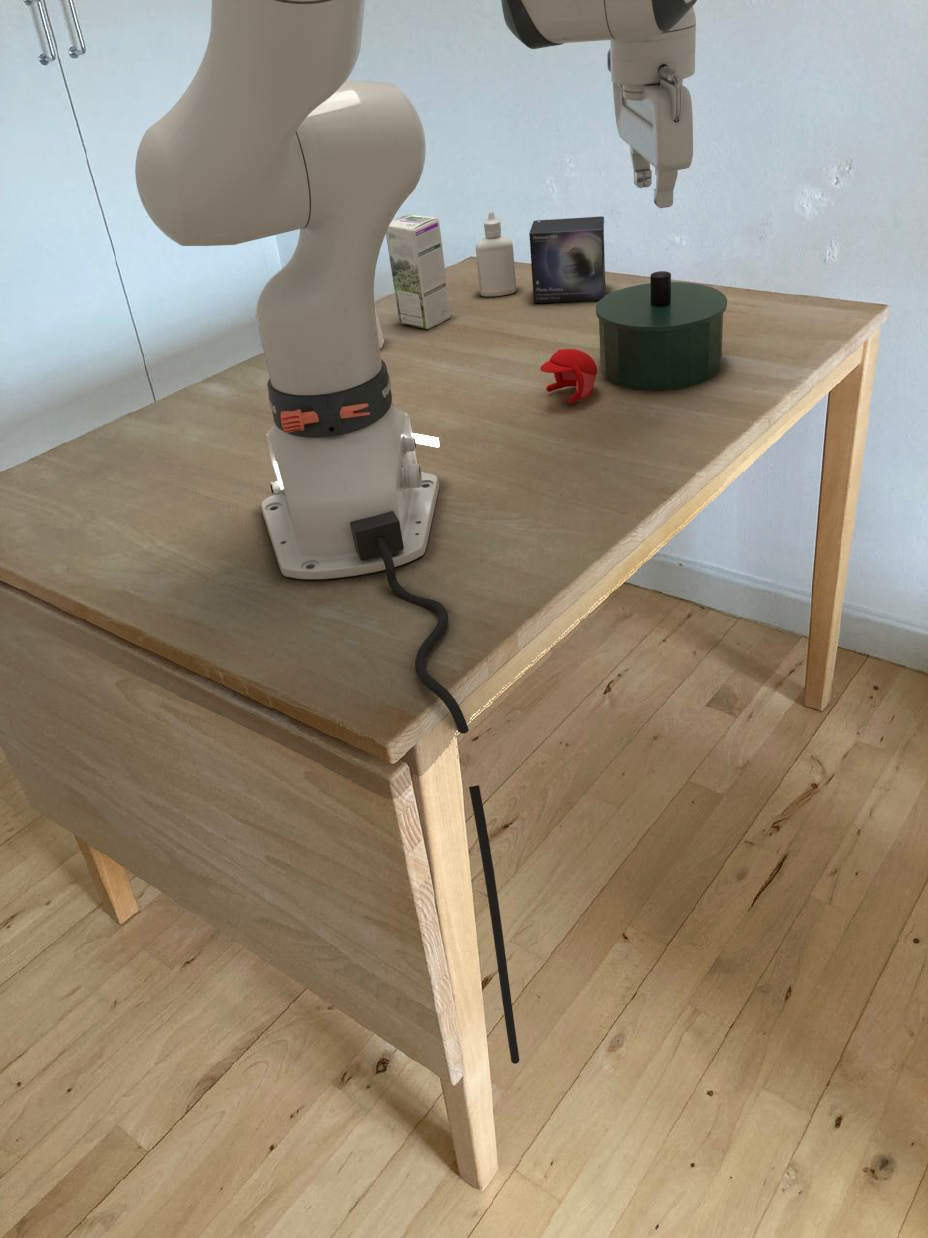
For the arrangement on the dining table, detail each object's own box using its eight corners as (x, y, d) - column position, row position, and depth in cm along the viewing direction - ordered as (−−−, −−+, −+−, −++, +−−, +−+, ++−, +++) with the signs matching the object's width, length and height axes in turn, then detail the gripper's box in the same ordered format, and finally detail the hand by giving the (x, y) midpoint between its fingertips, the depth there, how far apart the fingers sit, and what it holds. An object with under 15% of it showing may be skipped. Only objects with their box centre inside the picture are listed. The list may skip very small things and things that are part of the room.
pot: (736, 380, 124) (739, 319, 119) (616, 397, 123) (615, 337, 119) (700, 338, 136) (702, 281, 131) (590, 354, 135) (588, 297, 131)
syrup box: (452, 317, 152) (440, 215, 144) (426, 330, 149) (412, 227, 141) (424, 311, 156) (411, 211, 147) (397, 325, 152) (382, 223, 144)
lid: (744, 325, 119) (746, 284, 117) (611, 344, 119) (610, 304, 116) (704, 284, 132) (705, 246, 129) (584, 301, 132) (582, 264, 129)
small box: (532, 305, 153) (527, 232, 147) (536, 290, 158) (532, 219, 152) (604, 301, 151) (602, 227, 145) (606, 286, 156) (604, 214, 150)
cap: (564, 380, 129) (561, 334, 126) (607, 387, 126) (605, 339, 123) (531, 406, 124) (528, 358, 120) (575, 413, 121) (573, 364, 117)
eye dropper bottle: (508, 298, 157) (501, 216, 150) (475, 296, 159) (467, 215, 152) (520, 289, 160) (514, 208, 153) (488, 287, 162) (480, 207, 155)
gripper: (710, 68, 101) (706, 215, 109) (658, 43, 118) (657, 172, 126) (647, 77, 101) (647, 223, 109) (603, 51, 118) (606, 179, 126)
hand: (652, 195), depth 118 cm, fingers open, 8 cm apart
